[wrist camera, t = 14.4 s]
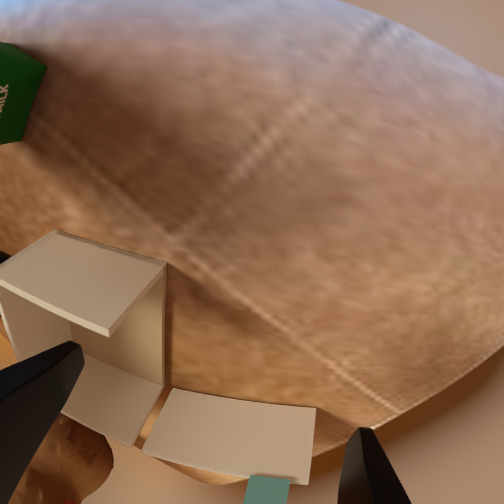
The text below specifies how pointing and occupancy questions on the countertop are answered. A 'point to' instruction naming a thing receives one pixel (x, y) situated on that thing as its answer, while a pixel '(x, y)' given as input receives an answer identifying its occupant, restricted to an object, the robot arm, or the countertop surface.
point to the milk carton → (17, 90)
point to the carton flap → (237, 441)
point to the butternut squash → (65, 465)
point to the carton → (92, 325)
